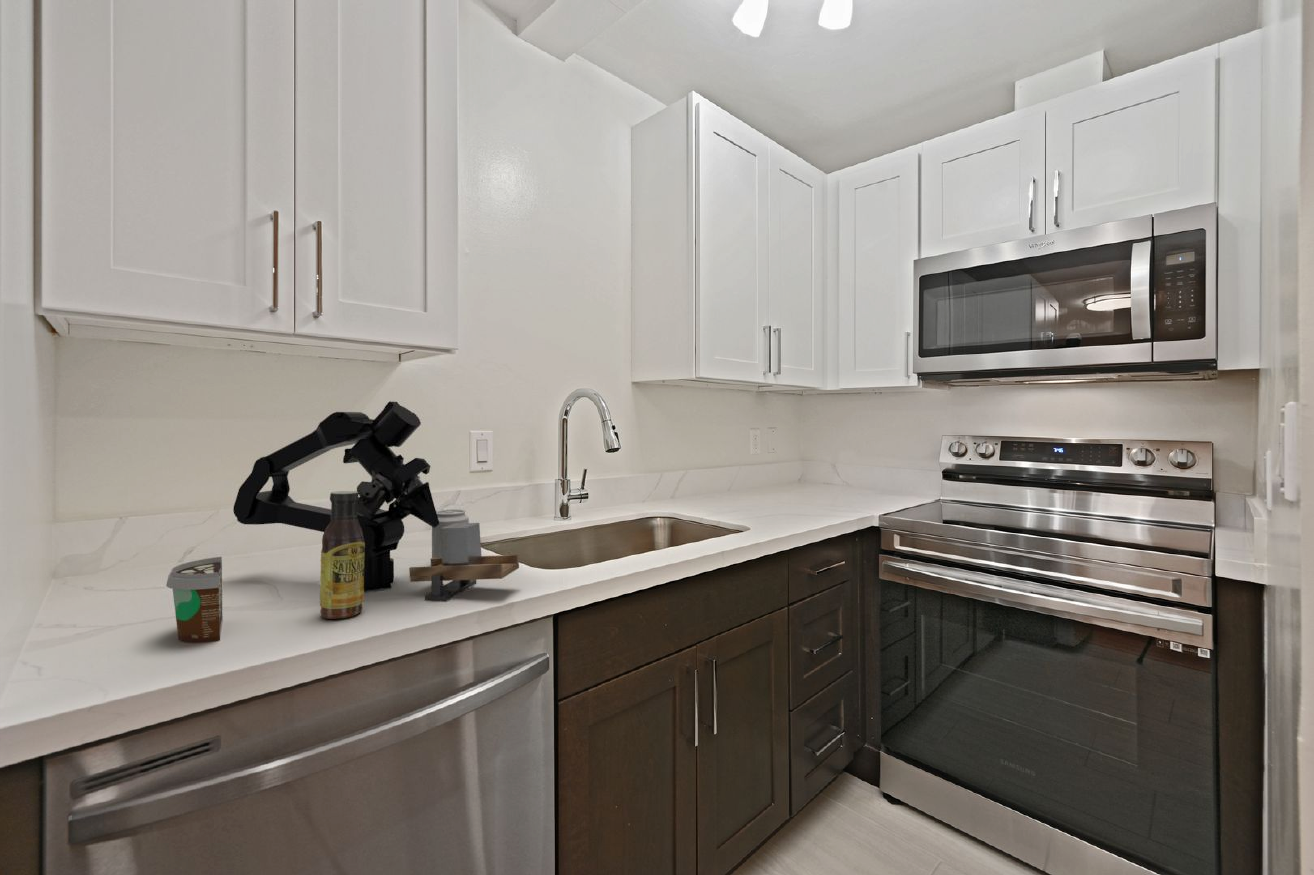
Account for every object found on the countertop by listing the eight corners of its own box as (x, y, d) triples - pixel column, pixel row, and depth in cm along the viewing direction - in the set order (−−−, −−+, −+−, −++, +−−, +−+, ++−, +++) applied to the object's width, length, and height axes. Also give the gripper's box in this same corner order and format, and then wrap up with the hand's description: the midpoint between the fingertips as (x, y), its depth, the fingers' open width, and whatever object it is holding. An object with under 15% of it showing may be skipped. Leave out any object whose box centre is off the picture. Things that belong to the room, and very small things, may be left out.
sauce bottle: (333, 624, 89) (331, 495, 88) (311, 616, 92) (310, 492, 92) (373, 612, 95) (372, 491, 94) (351, 605, 98) (350, 488, 97)
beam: (409, 582, 103) (407, 567, 103) (433, 571, 111) (432, 556, 111) (501, 579, 100) (499, 563, 100) (519, 567, 108) (518, 552, 108)
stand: (424, 600, 101) (424, 575, 101) (457, 582, 112) (457, 560, 112) (445, 601, 100) (445, 577, 100) (476, 583, 111) (476, 561, 111)
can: (445, 572, 119) (444, 514, 119) (424, 566, 124) (424, 511, 123) (476, 565, 125) (475, 510, 125) (455, 560, 129) (455, 506, 129)
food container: (172, 626, 88) (170, 561, 87) (223, 618, 91) (221, 555, 91) (162, 653, 78) (160, 580, 77) (219, 643, 81) (218, 573, 81)
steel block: (443, 572, 104) (440, 528, 103) (457, 565, 108) (454, 523, 108) (468, 572, 103) (466, 527, 103) (482, 565, 108) (479, 522, 107)
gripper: (341, 508, 110) (394, 569, 108) (341, 463, 95) (402, 532, 94) (393, 477, 117) (444, 534, 115) (400, 431, 102) (458, 495, 101)
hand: (437, 525), depth 106 cm, fingers closed
